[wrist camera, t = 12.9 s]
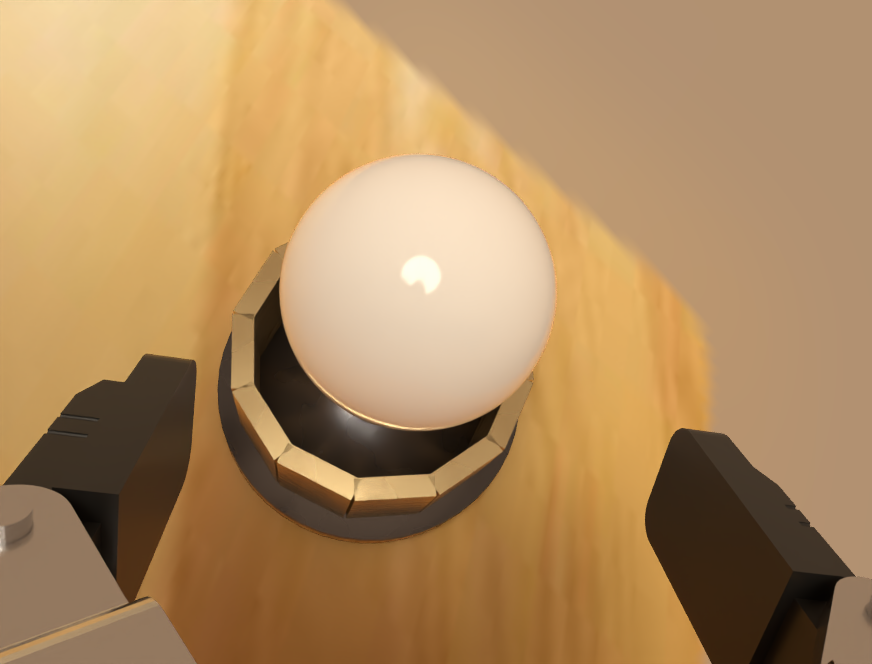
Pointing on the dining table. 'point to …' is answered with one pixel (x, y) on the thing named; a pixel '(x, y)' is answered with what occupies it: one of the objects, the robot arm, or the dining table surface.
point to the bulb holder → (342, 439)
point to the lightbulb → (418, 292)
